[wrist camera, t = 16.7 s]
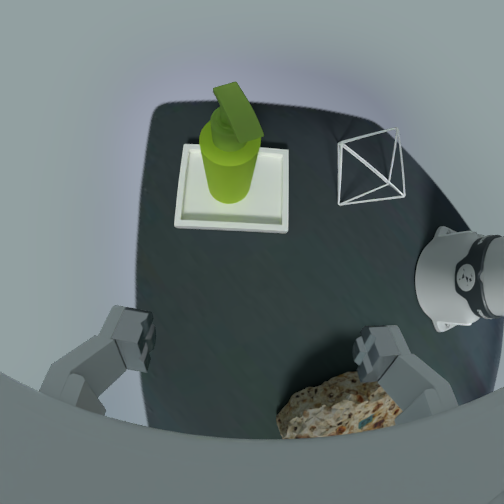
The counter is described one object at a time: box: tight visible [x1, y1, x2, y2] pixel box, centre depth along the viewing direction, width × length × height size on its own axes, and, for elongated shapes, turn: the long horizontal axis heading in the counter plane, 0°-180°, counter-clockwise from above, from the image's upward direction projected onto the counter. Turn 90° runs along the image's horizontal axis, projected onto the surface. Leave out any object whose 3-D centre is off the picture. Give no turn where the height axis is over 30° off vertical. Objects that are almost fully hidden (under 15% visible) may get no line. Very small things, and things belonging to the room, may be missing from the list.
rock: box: [276, 371, 403, 439], centre depth 33 cm, size 21×14×10 cm
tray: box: [174, 144, 289, 233], centre depth 37 cm, size 15×12×2 cm
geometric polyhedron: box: [338, 127, 405, 205], centre depth 35 cm, size 12×11×9 cm
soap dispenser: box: [199, 82, 264, 204], centre depth 27 cm, size 6×7×20 cm
